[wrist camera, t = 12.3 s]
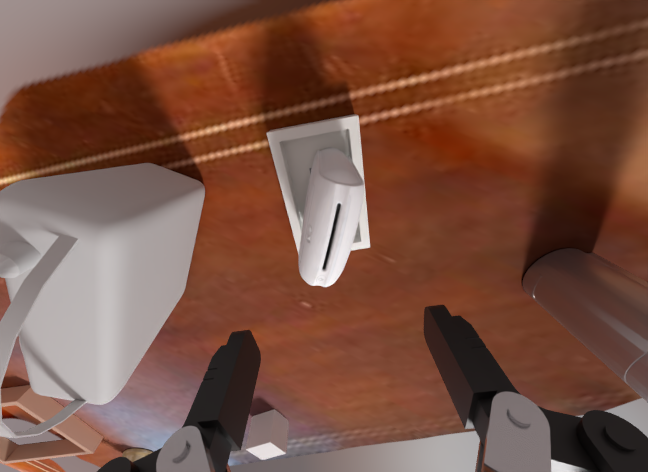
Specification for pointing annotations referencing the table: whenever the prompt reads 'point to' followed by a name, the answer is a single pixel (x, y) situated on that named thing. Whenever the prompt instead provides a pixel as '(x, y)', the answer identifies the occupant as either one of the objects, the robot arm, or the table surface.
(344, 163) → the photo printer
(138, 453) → the hand bell
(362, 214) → the dock
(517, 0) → the table surface
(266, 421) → the light grey cube
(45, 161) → the table surface
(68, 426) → the brown square frame
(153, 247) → the radio
